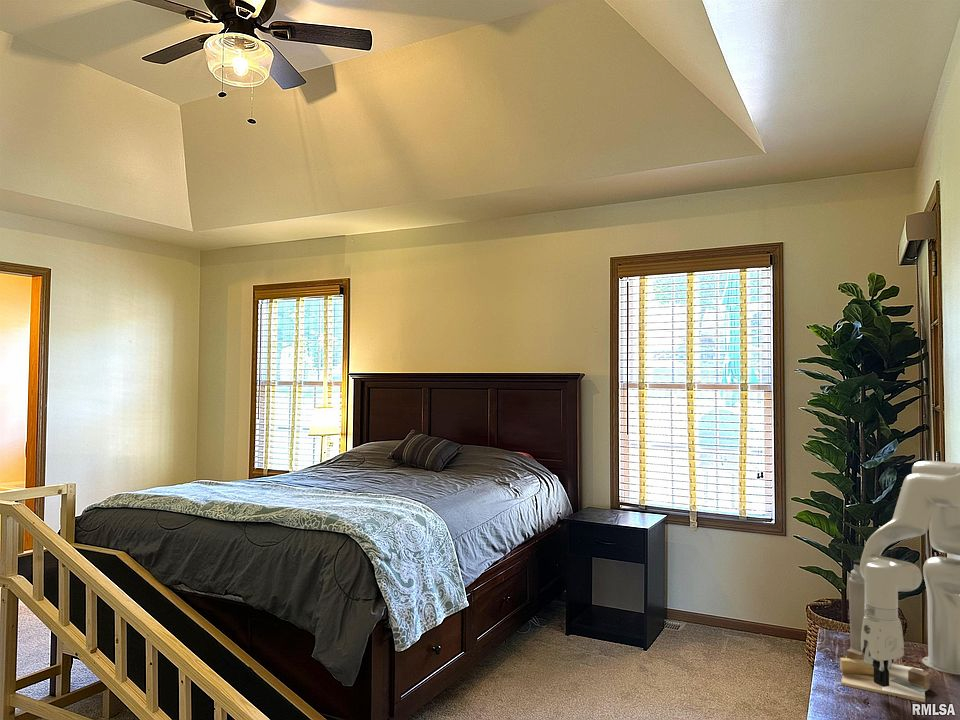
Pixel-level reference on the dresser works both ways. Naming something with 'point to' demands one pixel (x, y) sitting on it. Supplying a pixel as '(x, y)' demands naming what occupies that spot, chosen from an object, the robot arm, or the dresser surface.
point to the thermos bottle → (856, 605)
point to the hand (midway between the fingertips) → (881, 684)
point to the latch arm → (855, 666)
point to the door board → (890, 680)
